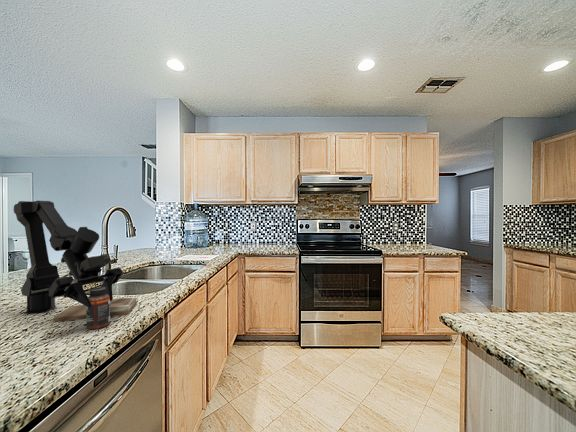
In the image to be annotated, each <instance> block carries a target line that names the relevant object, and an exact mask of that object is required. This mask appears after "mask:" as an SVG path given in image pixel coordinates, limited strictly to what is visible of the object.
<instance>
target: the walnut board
mask: <svg viewBox="0 0 576 432" xmlns="http://www.w3.org/2000/svg"><path fill="white" fill-rule="evenodd" d="M137 303H138V300H137V296H131V297H130V296H129V297H118V298H113V300H112V301H110V317H117V316H128V315H129V314H130V313H131V312H132V311H133V309H134V308H135V307H136V305H137ZM85 319H86V306H85V305H83V304H77V305H70V306H69V307H67V308H66V309H64V310H63V311H61V312H60V313H59V314H57V315H55V316H53V318H52V320H53V321H52V322H54V323H56V322H65V321H75V320H85Z"/></svg>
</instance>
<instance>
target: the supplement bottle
mask: <svg viewBox="0 0 576 432" xmlns="http://www.w3.org/2000/svg"><path fill="white" fill-rule="evenodd" d="M87 297H88V299H89V300H90V303H91V306H90V307H87V306H86V322H85V323H86V324H85V325H86V328H87V329H89V330H98V329H102V328H105V327H107V326H108V325H110V323H111V316H110V296H109V295H108V294H107V293H106V288H105V287H101V286H98V287H94V288H90V289H89V295H88V296H87Z"/></svg>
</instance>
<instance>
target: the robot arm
mask: <svg viewBox="0 0 576 432" xmlns="http://www.w3.org/2000/svg"><path fill="white" fill-rule="evenodd" d="M13 213H14V214H15V217H16V220H17V221H18V222H19V223H20V224H21V225H23V227H24V231H25V235H26V236H25V237H26V242H27V248H28V255H29V260H30V265H31V266H30V268H29V269H28V272H27V273H26V275H25V277H26V279H25V281H24V283H23V285H22V287H21V288H20V291H21V295H22V296H25V297H26V311H24V312H23V314H24V315H27V314H35V313H47V312H49V311H50V310H52V309H54V308H55V307H57V305H56V299H55V298H59V297H63V298H69V299H71V300H74V301H76V302H77V303H80V305H85V306H87V307H90V306H91V303H90V300H89V299H88V297H89V296H87V293H86V292H85V290H84V288H83V287H84V286H87V285H92V284H96V283H97V284H98V283H99V284H100V287H105V288H106V293H107V294H108V295H109V296H110V301H112V300H113V299H114V298H113V297H114V295H113V285H115V284H116V283H118V282H119V280H120V278H122V276H123V274H124V271H123V269H122V268H121V267H115V268H109V269H107V270H106V271H105V272H104V274H100V273H101V272H102V268H103V267H106V266H107V265H109V264H110V263H111V261H112V260H111V257H110V255H108V253H104V254H100V255H98V256H96V255H95V256H90V257H89V256H88V254H90V253H91V252H92V251H93V249H94V247H95V246H96V244H97V243H98V241H99V239H100V235H99V233H98V232H96V231H94V230H93V229H90V228H88V226H80V227H79V228H78V230H76V228H74V227H71V226H69V225H67V223H66V221H65V220H64V219H63V218H62V216H61V215H60V213H59V212H58V210H57V209H56V208H55V203H54V201H51V200H36V201H35V200H34V201H29V200H28V201H25V200H19V201H18V202H17V203H15V204H14V206H13ZM43 224H44V225H43ZM44 226H45V228H46V229H47V230H48V232H49V233H50V238H49V239H48V240H49V242H50V243H49V244H50V247H51V248H52V249H53V250H54V251H55V252H61V251H64V252H63V253H62V255H61V256H62V257H61V258H60V259H61V260H60V263H66V265H67V267H68V270H69V272H68V273H67V274H68V276H63V277H60V275H59V271H58V267H57V265H53V264H52V263H51V262H50V260H49V254H48V247H47V241H46V236H45V230H44ZM99 274H100V275H99Z"/></svg>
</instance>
